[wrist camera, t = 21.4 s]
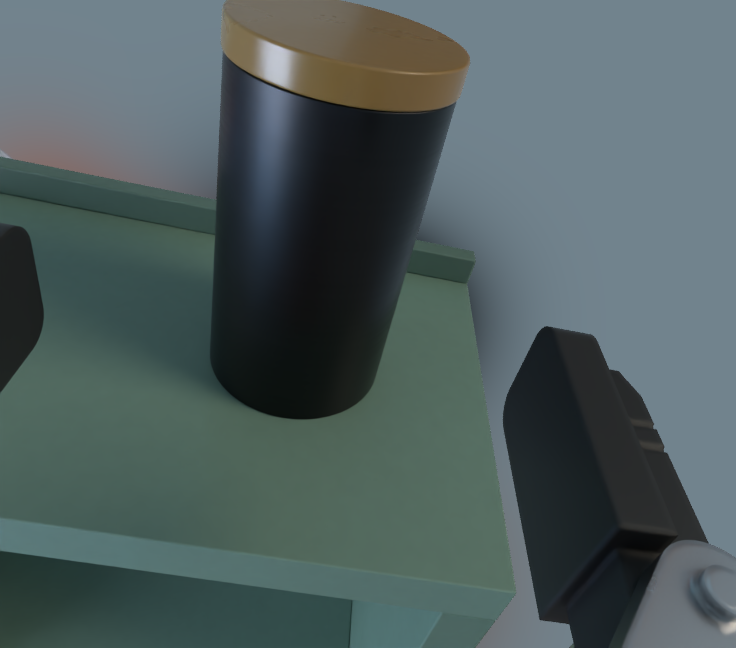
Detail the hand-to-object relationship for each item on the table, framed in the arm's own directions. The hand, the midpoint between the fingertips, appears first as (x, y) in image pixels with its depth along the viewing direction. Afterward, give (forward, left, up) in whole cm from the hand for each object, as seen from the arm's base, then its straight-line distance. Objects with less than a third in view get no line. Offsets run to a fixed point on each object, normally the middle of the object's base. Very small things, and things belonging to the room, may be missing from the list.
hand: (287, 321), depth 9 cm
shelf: (-5, +6, -26) cm, 28 cm away
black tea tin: (-1, +7, -7) cm, 10 cm away
